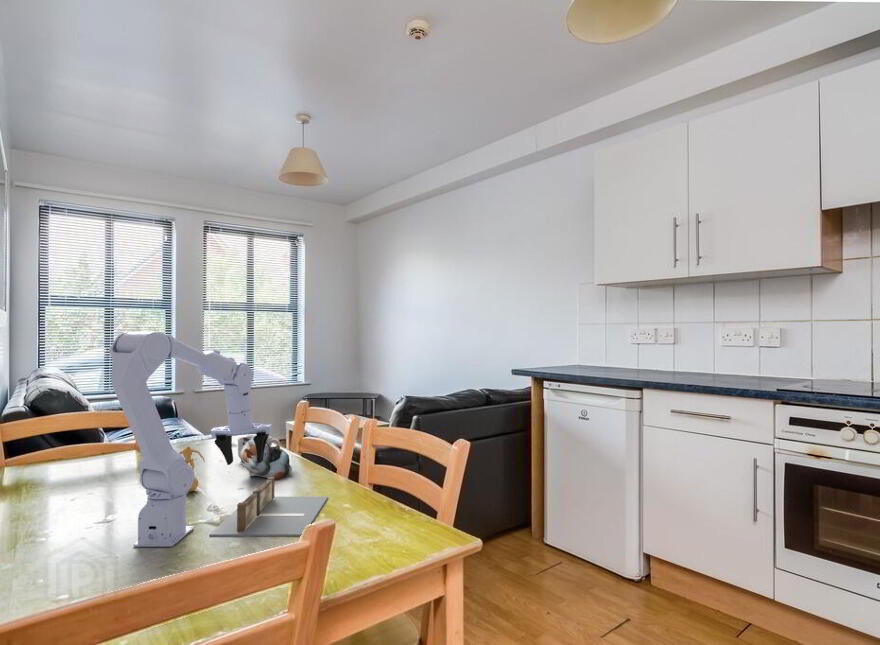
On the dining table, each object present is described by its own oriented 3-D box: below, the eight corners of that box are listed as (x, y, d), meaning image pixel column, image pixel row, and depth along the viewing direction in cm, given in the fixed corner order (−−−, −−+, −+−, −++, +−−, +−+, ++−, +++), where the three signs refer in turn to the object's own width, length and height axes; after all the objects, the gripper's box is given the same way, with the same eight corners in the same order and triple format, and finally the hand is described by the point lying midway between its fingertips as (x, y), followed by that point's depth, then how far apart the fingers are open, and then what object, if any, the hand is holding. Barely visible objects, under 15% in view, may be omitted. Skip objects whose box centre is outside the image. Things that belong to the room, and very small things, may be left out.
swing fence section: (260, 511, 119) (260, 489, 119) (254, 511, 119) (254, 489, 119) (274, 497, 129) (274, 477, 129) (268, 497, 129) (268, 477, 129)
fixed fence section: (244, 531, 109) (244, 504, 109) (236, 531, 108) (236, 504, 109) (260, 513, 119) (260, 489, 119) (253, 513, 119) (254, 489, 119)
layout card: (303, 536, 107) (303, 533, 107) (209, 536, 107) (209, 533, 107) (327, 498, 131) (327, 496, 131) (250, 498, 131) (250, 496, 131)
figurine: (175, 496, 132) (176, 451, 132) (168, 491, 136) (169, 447, 136) (208, 489, 138) (209, 445, 138) (201, 484, 142) (201, 442, 142)
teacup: (230, 464, 164) (230, 439, 164) (251, 455, 174) (251, 432, 174) (266, 467, 160) (266, 442, 160) (286, 459, 170) (286, 435, 170)
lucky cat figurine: (292, 479, 147) (272, 441, 142) (253, 497, 145) (230, 460, 140) (292, 452, 161) (273, 417, 156) (256, 469, 159) (236, 434, 154)
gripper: (273, 403, 129) (279, 454, 131) (217, 407, 129) (223, 457, 131) (264, 411, 122) (270, 465, 124) (204, 415, 122) (211, 469, 124)
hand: (245, 462), depth 127 cm, fingers open, 7 cm apart
